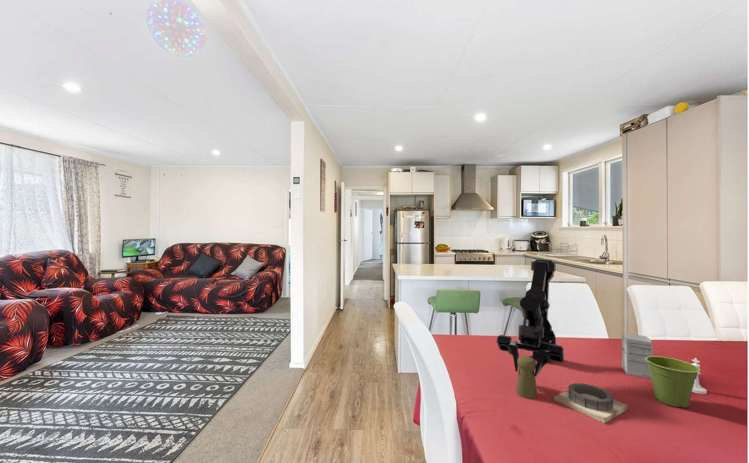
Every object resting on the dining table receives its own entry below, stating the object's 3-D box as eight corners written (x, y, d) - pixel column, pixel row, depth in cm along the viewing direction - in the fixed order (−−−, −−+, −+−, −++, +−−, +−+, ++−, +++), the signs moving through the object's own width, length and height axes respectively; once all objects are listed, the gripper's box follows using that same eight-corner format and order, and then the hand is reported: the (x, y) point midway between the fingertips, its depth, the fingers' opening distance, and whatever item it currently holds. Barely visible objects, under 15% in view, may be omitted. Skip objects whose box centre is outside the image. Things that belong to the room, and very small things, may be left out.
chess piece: (703, 395, 98) (703, 362, 98) (682, 388, 102) (682, 357, 102) (709, 391, 100) (709, 359, 100) (688, 385, 104) (688, 354, 104)
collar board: (578, 389, 100) (578, 378, 100) (627, 409, 89) (627, 396, 89) (554, 400, 94) (554, 387, 94) (604, 423, 83) (604, 408, 83)
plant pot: (707, 417, 85) (707, 375, 86) (649, 405, 92) (649, 365, 92) (693, 398, 95) (693, 360, 96) (641, 388, 102) (641, 352, 102)
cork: (540, 399, 94) (540, 362, 94) (518, 397, 95) (518, 360, 95) (534, 390, 100) (534, 354, 100) (513, 388, 101) (513, 353, 101)
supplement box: (621, 366, 118) (621, 332, 118) (647, 371, 115) (647, 335, 115) (625, 374, 112) (625, 338, 112) (653, 379, 108) (653, 341, 108)
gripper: (498, 310, 106) (488, 353, 97) (563, 319, 96) (559, 368, 87) (503, 328, 113) (495, 370, 104) (565, 338, 102) (562, 386, 93)
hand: (525, 373), depth 97 cm, fingers closed on cork, 5 cm apart
